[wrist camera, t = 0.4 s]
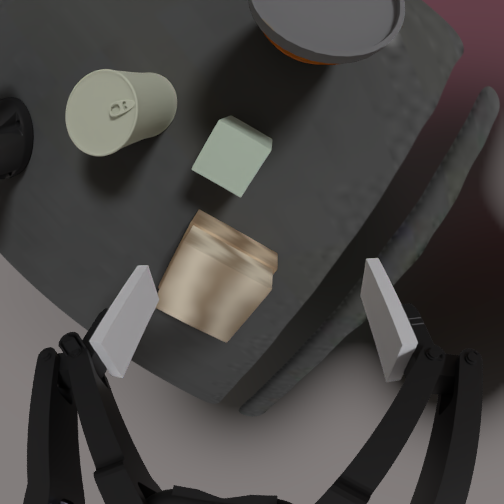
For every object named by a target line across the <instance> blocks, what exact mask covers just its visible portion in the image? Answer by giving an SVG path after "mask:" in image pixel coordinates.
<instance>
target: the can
mask: <svg viewBox="0 0 504 504" xmlns="http://www.w3.org/2000/svg"><path fill="white" fill-rule="evenodd" d="M176 110H177V96H176V92H175V90H174V88H173V86H172V84H171V83H170V82H169V81H168V80H167V79H166V78H165V77H163V76H161V75H159V74H156V73H135V72H124V71H114V70H110V69H102V70H97V71H94V72H92V73H90V74H88V75H86V76H85V77H84V78H82V79H81V80H80V81H79V82H78V83H77V85H76V86H75V87H74V89H73V91H72V92H71V94H70V97H69V99H68V102H67V107H66V126H67V130H68V133H69V136H70V138H71V140H72V141H73V143H74V144H75V145H76V146H77V147H78V148H79V149H80V150H81V151H83V152H84V153H86V154H88V155H92V156H107V155H110V154H112V153H114V152H116V151H118V150H119V149H121V148H123V147H126V146H128V145H130V144H133V143H135V142H137V141H140V140H142V139H145V138H150V137H154V136H156V135H158V134H160V133H162V132H163V131H164V130H165V129H166V128H167V127H168V126H169V125H170V124H171V122H172V120H173V118H174V116H175V113H176Z"/></svg>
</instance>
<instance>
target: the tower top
mask: <svg viewBox="0 0 504 504" xmlns="http://www.w3.org/2000/svg"><path fill="white" fill-rule="evenodd" d="M272 273H273V269H272V268H270V267H268V266H266V265H264V264H263V263H261V262H259V261H257V260H255V259H253V258H252V257H250V256H248V255H246V254H244V253H243V252H241V251H239V250H237V249H235V248H234V247H232V246H230V245H228V244H226V243H224V242H223V241H221V240H219V239H217V238H215V237H214V236H212V235H210V234H208V233H206V232H205V231H203V230H201V229H199V228H197V227H196V226H194V225H193V226H192V228H191V230H190V231H189V233H188V235H187V236H186V238H185V240H184V241H183V243H182V245H181V247H180V249H179V251H178V253H177V255H176V257H175V259H174V261H173V263H172V265H171V267H170V269H169V271H168V273H167V275H166V277H165V279H164V281H163V283H162V285H161V287H160V289H159V292H158V297H159V301H158V303H157V305H156V308H157V309H159V310H161V311H163V312H165V313H167V314H169V315H171V316H172V317H174V318H176V319H178V320H180V321H182V322H184V323H186V324H188V325H190V326H192V327H194V328H196V329H198V330H200V331H203V332H205V333H207V334H209V335H211V336H213V337H215V338H217V339H220V340H222V341H224V342H226V343H227V342H228V340H229V339H230V338H231V337H232V336H233V335H234V334H235V332H236V331H237V330H238V329H239V328H240V327H241V325H242V324H243V323H244V322H245V321H246V320H247V318H248V317H249V316H250V315H251V314H252V313H253V311H254V310H255V309H256V308H257V307H258V305H259V304H260V303H261V302H262V301H263V300H264V298H265V297H266V296H267V295H268V294H269V292H270V291H271V290H272Z"/></svg>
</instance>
